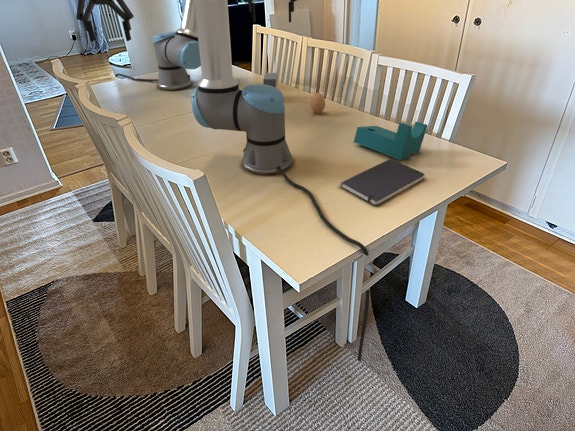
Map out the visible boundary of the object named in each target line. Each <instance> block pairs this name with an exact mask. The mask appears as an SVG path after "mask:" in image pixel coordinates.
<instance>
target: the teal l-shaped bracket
mask: <svg viewBox="0 0 575 431" xmlns="http://www.w3.org/2000/svg"><path fill="white" fill-rule="evenodd" d="M427 129H428V124H426V123H424V122H420V121H415V122H414V124H413V125H411V124H407V123H404V122H399V124H398V126H397V130H396V131H392V130H389V129H388V128H384V127H381V126H379V125H365V126H357V127H356V131H355V135H354V138H353V143H355V144H358V145H361V146H362V147H365V148H368V149H370V150H373V151H375V152H378V153H381V154H383V155H386V156H388V157H391V158H392V159H393V158H394V159H396V160H398V161H402V160H409V159H410V156H411V155H413V154H419V153H420V151H421V147H422V144H423V141H424V138H425V135H426V132H427Z"/></svg>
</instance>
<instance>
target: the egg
mask: <svg viewBox="0 0 575 431" xmlns="http://www.w3.org/2000/svg"><path fill="white" fill-rule="evenodd" d="M309 108H310V110H311V112H312V113H314V114H321V113H322V112H323V111H324V110H325V108H326V98H325V97H324V95H323V94H322V93H320V92H315V93H314V94H313V95H312V96H311V98H310V100H309Z"/></svg>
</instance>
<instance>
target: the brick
mask: <svg viewBox="0 0 575 431" xmlns="http://www.w3.org/2000/svg"><path fill="white" fill-rule="evenodd" d="M278 78H279V77H278V72H265V73H264V76H263V79H262V82H263V83H262V84H264V85H269V86H272V87H275V88H277V89H278V90H279V80H278Z"/></svg>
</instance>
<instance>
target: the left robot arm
mask: <svg viewBox="0 0 575 431" xmlns="http://www.w3.org/2000/svg"><path fill="white" fill-rule="evenodd" d="M115 1H116V3H117V4H116V3H115ZM115 1H114V0H88V3H87V5H86V0H78V1H77V7H76V18H75V19H76V20H77V21H81V22H82V23H83V27H84V31H86V32H87V33H88V37H89V41H90V42H95V41H96V40H97V38H96V35H95V31H94V27H93V24H92V21H91V20H89V19H90V16H91V15H92V12H93V10H94V7H95V6H99V5H102V6H104V5H105V6H106V5H107V6H108V7H110V8H111V9H112V10H113V11H114V12H115V13H116V15H118V17H120V19H122V21H121V25H122V28H123V32H124V36H125V39H126V40H125V41H126V42H129V41H131V40H132V37H131V30H132V26H131V20H132V19H134V18H135V15H134V14H133V13H132V11H131V9H130V8H129V7H128V5H127V3H126V2H125V1H124V0H115ZM85 5H86V8H85ZM181 16H182V17H181V21H180V27H179V28H178V29H176V30H175V31H166V32H161V33H156V34H154V35H153V36H152V45H153V48H154V49H153V50H154V53H155V58H156V62H157V67H158V75H157V78H138V77H133V76H129V75H127V74H126V75H125V74H122V73H115V75H114V78H118V76H119V77H122V78H127V79H130V78H131V79H130V80H133V81H139V82H157V87H158V89H160V90H163V91H179V90H183V89H187V88H189V87H190V86H192V80H191V74H188V72H187V70H197V69H198V68H201V60H200V51H199V42H198V32H197V23H196V13H195V4H194V0H184V4H183V10H182V15H181ZM135 78H137V79H135Z"/></svg>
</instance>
